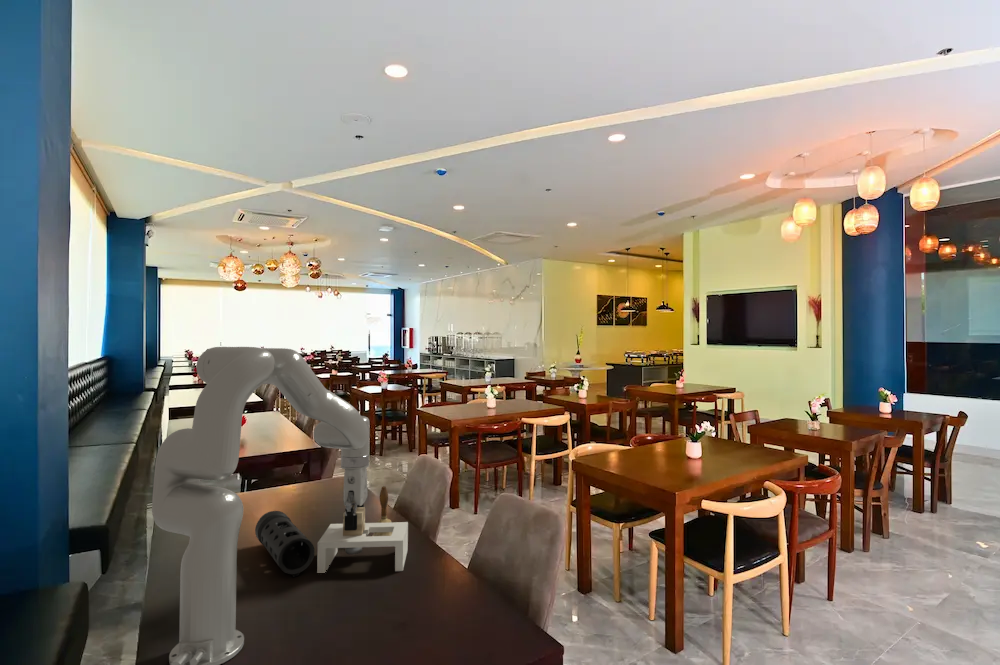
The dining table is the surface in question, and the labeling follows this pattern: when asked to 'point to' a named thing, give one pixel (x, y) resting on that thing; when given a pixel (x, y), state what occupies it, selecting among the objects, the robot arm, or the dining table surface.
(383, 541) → the keyhole stand
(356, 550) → the peg
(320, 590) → the dining table surface
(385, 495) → the hand bell
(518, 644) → the dining table surface
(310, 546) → the muzzle brake
